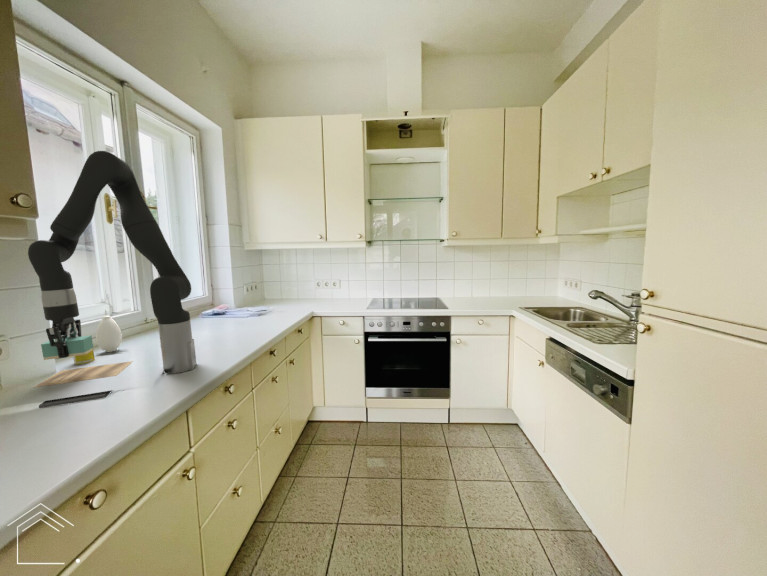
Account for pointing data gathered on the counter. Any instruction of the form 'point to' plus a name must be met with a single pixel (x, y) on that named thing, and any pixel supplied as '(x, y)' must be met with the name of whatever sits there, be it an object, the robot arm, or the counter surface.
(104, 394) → the rubber mat
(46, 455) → the counter surface
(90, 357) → the supplement bottle
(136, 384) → the counter surface
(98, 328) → the white vase
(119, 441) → the counter surface
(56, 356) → the block
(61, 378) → the board
